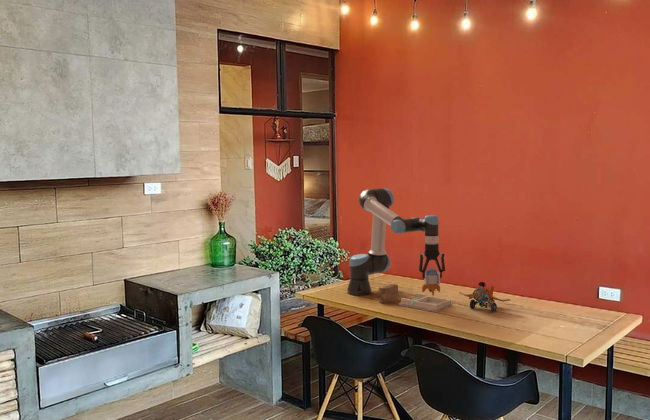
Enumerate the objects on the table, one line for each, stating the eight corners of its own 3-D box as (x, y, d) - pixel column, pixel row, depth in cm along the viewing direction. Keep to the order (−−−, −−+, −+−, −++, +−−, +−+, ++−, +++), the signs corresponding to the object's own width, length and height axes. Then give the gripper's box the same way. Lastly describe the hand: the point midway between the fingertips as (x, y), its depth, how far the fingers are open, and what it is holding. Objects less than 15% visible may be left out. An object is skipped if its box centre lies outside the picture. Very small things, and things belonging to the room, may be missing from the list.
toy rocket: (439, 292, 333) (443, 268, 329) (441, 300, 322) (445, 275, 318) (421, 290, 333) (425, 265, 329) (422, 297, 323) (426, 272, 319)
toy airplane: (448, 304, 317) (452, 277, 320) (466, 308, 335) (469, 282, 337) (501, 312, 299) (504, 283, 301) (516, 316, 317) (519, 288, 319)
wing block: (378, 302, 339) (378, 287, 338) (391, 298, 348) (391, 283, 347) (385, 304, 336) (385, 288, 335) (398, 299, 344) (397, 284, 344)
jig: (398, 305, 332) (398, 298, 332) (416, 299, 345) (416, 292, 345) (435, 312, 316) (435, 305, 315) (452, 305, 329) (452, 298, 328)
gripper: (415, 244, 320) (415, 286, 322) (451, 243, 321) (451, 284, 323) (412, 242, 327) (413, 283, 329) (447, 241, 328) (448, 281, 330)
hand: (432, 283), depth 326 cm, fingers closed on toy rocket, 7 cm apart
